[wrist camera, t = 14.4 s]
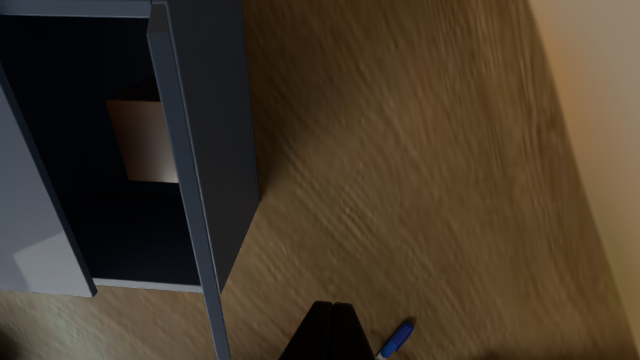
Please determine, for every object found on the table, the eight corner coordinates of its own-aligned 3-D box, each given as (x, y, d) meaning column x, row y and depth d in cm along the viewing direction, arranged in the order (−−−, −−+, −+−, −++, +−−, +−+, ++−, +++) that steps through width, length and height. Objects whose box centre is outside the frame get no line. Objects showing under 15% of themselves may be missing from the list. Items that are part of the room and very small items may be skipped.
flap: (145, 32, 5) (170, 31, 6) (151, 3, 10) (165, 3, 10) (233, 434, 11) (244, 430, 12) (212, 306, 16) (221, 304, 16)
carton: (19, -15, 18) (-211, -5, 10) (240, -12, 17) (154, 2, 10) (94, 193, 24) (-19, 289, 17) (259, 203, 23) (215, 308, 16)
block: (234, 149, 20) (209, 185, 17) (166, 145, 21) (128, 180, 17) (225, 78, 18) (195, 103, 15) (150, 75, 19) (104, 99, 15)
